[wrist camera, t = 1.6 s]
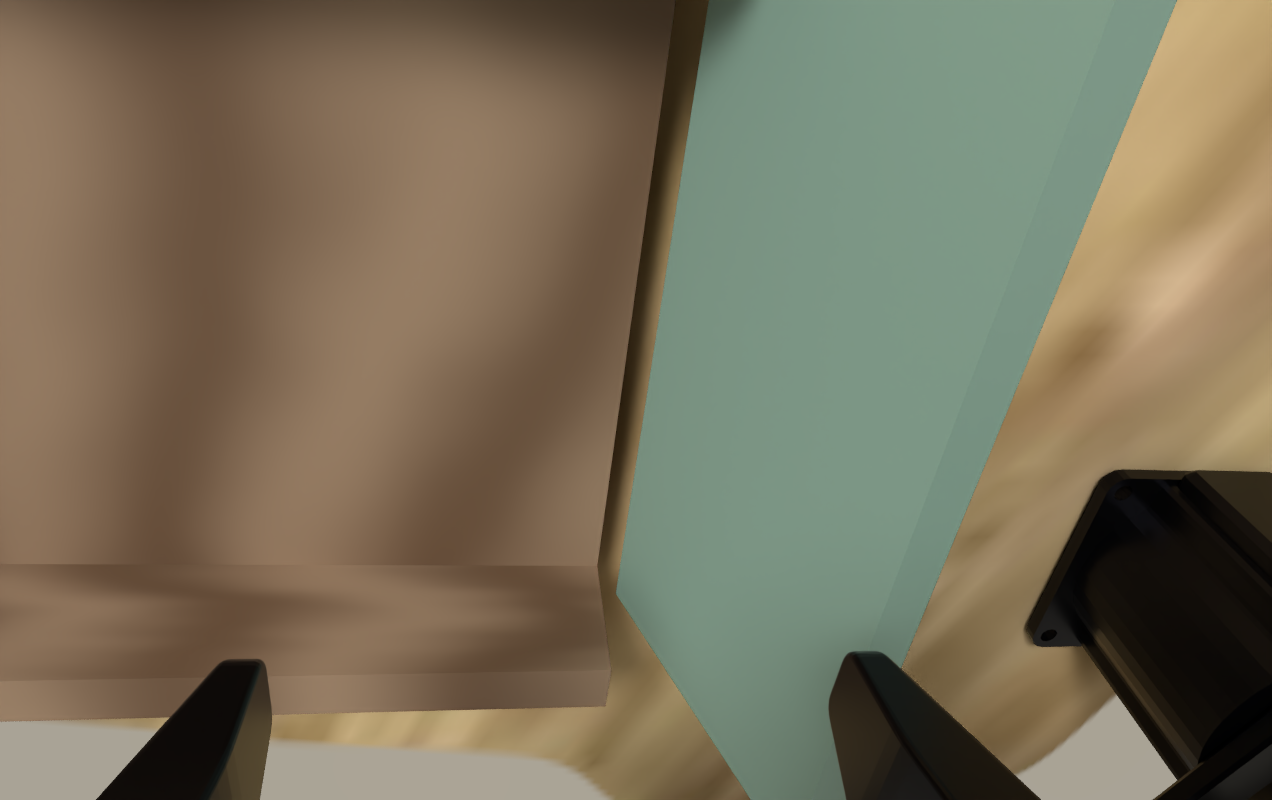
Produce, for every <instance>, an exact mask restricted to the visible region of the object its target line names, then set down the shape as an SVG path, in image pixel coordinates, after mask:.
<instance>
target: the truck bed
mask: <svg viewBox="0 0 1272 800" xmlns="http://www.w3.org/2000/svg"><path fill="white" fill-rule="evenodd" d="M675 3H676V0H0V722H2V721H41V720H81V719H121V718H160V717H171V716H172V715H173V713H174V712H175V711H176V710H177V709H178V708H179V707H180V706H181V705H182V703H183V702H184V701H185V700H186V699H187V698H188V697H189V696H190V694H191V693H192V692H193V691H194V690H195V689H196V688H197V687H198V686H199V684H200V683H201V682H202V681H203V680H204V679H205V678H206V677H207V676H208V674H209V673H210V672H211V671H212V670H213V669H214V668H215V667H216V666H217V665H218V664H219V663H220V662H222V661H224V660H227V659H261V660H262V661H264V663H265V665H266V669H267V676H268V683H269V691H270V699H271V707H272V715H279V714H318V713H358V712H398V711H437V710H477V709H516V708H556V707H595V706H606V700H607V694H608V688H609V682H610V676H611V663H610V656H609V649H608V641H607V634H606V627H605V619H604V612H603V605H602V597H601V590H600V583H599V575H598V568H597V564H598V557H599V549H600V542H601V535H602V528H603V521H604V513H605V506H606V499H607V492H608V485H609V478H610V470H611V463H612V456H613V449H614V442H615V434H616V427H617V420H618V413H619V406H620V398H621V391H622V384H623V377H624V370H625V362H626V355H627V348H628V341H629V334H630V326H631V319H632V312H633V305H634V298H635V290H636V283H637V276H638V269H639V262H640V254H641V247H642V240H643V233H644V226H645V218H646V211H647V204H648V197H649V190H650V182H651V175H652V168H653V161H654V154H655V147H656V139H657V132H658V125H659V118H660V111H661V103H662V96H663V89H664V82H665V75H666V67H667V60H668V53H669V46H670V39H671V31H672V24H673V17H674V10H675Z"/></svg>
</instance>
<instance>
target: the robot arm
mask: <svg viewBox="0 0 1272 800" xmlns="http://www.w3.org/2000/svg"><path fill="white" fill-rule="evenodd" d="M1026 631H1027V634H1028V635H1029V637H1030V638H1031V640H1032V641H1033V643H1034V644H1035V645H1037V646H1041V647H1062V646H1083V648H1084V649H1085V651H1086V652H1087V653H1088V655H1089V656H1090V658H1091V659H1092V660H1093V662H1094V663H1095V665H1096V666H1097V668H1098V669H1099V670H1100V672H1101V673H1102V675H1103V676H1104V677H1105V679H1106V680H1107V682H1108V683H1109V684H1110V686H1111V687H1112V689H1113V690H1114V692H1115V693H1116V694H1117V696H1118V697H1119V699H1120V700H1121V701H1122V703H1123V704H1124V705H1125V707H1126V708H1127V710H1128V711H1129V713H1130V714H1131V716H1132V717H1133V718H1134V720H1135V721H1136V723H1137V724H1138V725H1139V727H1140V728H1141V730H1142V731H1143V732H1144V734H1145V735H1146V737H1147V738H1148V740H1149V741H1150V742H1151V744H1152V745H1153V746H1154V748H1155V749H1156V751H1157V752H1158V753H1159V755H1160V756H1161V758H1162V759H1163V761H1164V762H1165V764H1166V765H1167V766H1168V768H1169V769H1170V771H1171V772H1172V773H1173V775H1174V776H1175V778H1176V779H1177V780H1178V781H1176V782H1175V783H1174V784H1172V785H1171V786H1170V787H1169V788H1167V789H1166V790H1165V791H1163V792H1162V793H1161V794H1160V795H1158V796H1157V797H1156V798H1155V799H1153V800H1272V473H1270V472H1242V471H1202V470H1197V471H1161V470H1116V471H1113V472H1111V473H1109V474H1108V475H1106V476H1105V477H1104V478H1103V479H1102V480H1101V481H1100V483H1099V484H1098V486H1097V488H1096V490H1095V492H1094V494H1093V496H1092V498H1091V500H1090V502H1089V504H1088V506H1087V508H1086V510H1085V512H1084V514H1083V516H1082V518H1081V520H1080V522H1079V524H1078V526H1077V528H1076V530H1075V532H1074V534H1073V536H1072V538H1071V540H1070V542H1069V544H1068V546H1067V548H1066V550H1065V552H1064V554H1063V556H1062V558H1061V560H1060V562H1059V564H1058V566H1057V568H1056V570H1055V572H1054V574H1053V576H1052V578H1051V580H1050V582H1049V584H1048V586H1047V588H1046V590H1045V592H1044V594H1043V596H1042V597H1041V599H1040V601H1039V603H1038V605H1037V607H1036V609H1035V611H1034V613H1033V615H1032V617H1031V619H1030V621H1029V623H1028V625H1027V629H1026ZM828 711H829V719H830V724H831V729H832V734H833V739H834V744H835V748H836V753H837V758H838V763H839V768H840V773H841V777H842V782H843V787H844V792H845V797H846V800H1041V799H1040V798H1039V797H1038V796H1036V795H1035V794H1034V793H1033V792H1032V791H1031V790H1030V789H1029V788H1028V787H1027V786H1026V785H1024V783H1023V782H1021V780H1019V779H1018V778H1017V777H1016V776H1015V775H1014V774H1013V773H1012V772H1011V771H1010V770H1009V769H1008V768H1007V767H1006V766H1005V765H1003V764H1002V763H1001V762H1000V761H999V760H998V759H997V758H996V757H995V756H994V755H993V754H992V753H991V752H990V751H988V750H987V749H986V748H985V747H984V746H983V745H982V744H981V743H980V742H979V741H978V740H977V739H976V738H975V737H974V736H972V735H971V734H970V733H969V732H968V731H967V730H966V729H965V728H964V727H963V726H962V725H961V724H960V723H959V722H957V721H956V720H955V719H954V718H953V717H952V716H951V715H950V714H949V713H948V712H947V711H946V710H945V709H944V708H943V707H941V706H940V705H939V704H938V703H937V702H936V701H935V700H934V699H933V698H932V697H931V696H930V695H929V694H928V693H926V692H925V691H924V690H923V689H922V688H921V687H920V686H919V685H918V684H917V683H916V682H915V681H914V680H913V679H912V678H910V677H909V676H908V675H907V674H906V673H905V672H904V671H903V670H902V669H901V668H900V667H899V666H898V665H897V664H895V663H894V662H893V661H892V660H891V659H890V658H889V657H888V656H887V655H885V654H884V653H882V652H879V651H851V652H849V653H848V654H846V655H845V657H844V659H843V661H842V664H841V666H840V669H839V672H838V675H837V677H836V680H835V683H834V686H833V688H832V691H831V694H830V697H829V704H828ZM271 725H272V707H271V699H270V691H269V683H268V676H267V669H266V665H265V663H264V661H262V660H261V659H227V660H224V661H222V662H220V663H219V664H218V665H217V666H216V667H215V668H214V669H213V670H212V671H211V672H210V673H209V674H208V676H207V677H206V678H205V679H204V680H203V681H202V682H201V683H200V684H199V686H198V687H197V688H196V689H195V690H194V691H193V692H192V693H191V694H190V696H189V697H188V698H187V699H186V700H185V701H184V702H183V703H182V705H181V706H180V707H179V708H178V709H177V710H176V711H175V712H174V713H173V715H172V716H171V717H170V718H169V719H168V720H167V721H166V722H165V723H164V725H163V726H162V727H161V728H160V729H159V730H158V731H157V732H156V733H155V735H154V736H153V737H152V738H151V739H150V740H149V741H148V742H147V744H146V745H145V746H144V747H143V748H142V749H141V750H140V751H139V752H138V754H137V755H136V756H135V757H134V758H133V759H132V760H131V761H130V763H129V764H128V765H127V766H126V767H125V768H124V769H123V770H122V771H121V773H120V774H119V775H118V776H117V777H116V778H115V779H114V780H113V782H112V783H111V784H110V785H109V786H108V787H107V788H106V789H105V790H104V791H103V793H102V794H101V795H100V796H99V797H98V798H97V799H96V800H260V795H261V788H262V783H263V776H264V770H265V764H266V758H267V752H268V746H269V740H270V734H271Z"/></svg>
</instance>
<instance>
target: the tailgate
mask: <svg viewBox="0 0 1272 800" xmlns="http://www.w3.org/2000/svg"><path fill="white" fill-rule="evenodd" d="M1176 2H1177V0H709V3H708V10H707V16H706V22H705V29H704V35H703V41H702V48H701V54H700V61H699V67H698V73H697V80H696V86H695V92H694V99H693V105H692V111H691V118H690V124H689V131H688V137H687V143H686V150H685V156H684V162H683V169H682V175H681V181H680V188H679V194H678V201H677V207H676V213H675V220H674V226H673V232H672V239H671V245H670V251H669V258H668V264H667V271H666V277H665V283H664V290H663V296H662V302H661V309H660V315H659V322H658V328H657V334H656V341H655V347H654V353H653V360H652V366H651V372H650V379H649V385H648V392H647V398H646V404H645V411H644V417H643V423H642V430H641V436H640V442H639V449H638V455H637V462H636V468H635V474H634V481H633V487H632V493H631V500H630V506H629V512H628V519H627V525H626V532H625V538H624V544H623V551H622V557H621V563H620V570H619V576H618V582H617V589H616V595H617V596H618V598H619V599H620V601H621V602H622V604H623V605H624V607H625V608H626V610H627V611H628V613H629V614H630V616H631V618H632V619H633V621H634V622H635V624H636V625H637V627H638V628H639V630H640V631H641V633H642V634H643V636H644V637H645V639H646V640H647V642H648V644H649V645H650V647H651V648H652V650H653V651H654V653H655V654H656V656H657V657H658V659H659V660H660V662H661V663H662V665H663V666H664V668H665V669H666V671H667V673H668V674H669V676H670V677H671V679H672V680H673V682H674V683H675V685H676V686H677V688H678V689H679V691H680V692H681V694H682V695H683V697H684V698H685V700H686V702H687V703H688V705H689V706H690V708H691V709H692V711H693V712H694V714H695V715H696V717H697V718H698V720H699V721H700V723H701V724H702V726H703V727H704V729H705V731H706V732H707V734H708V735H709V737H710V738H711V740H712V741H713V743H714V744H715V746H716V747H717V749H718V750H719V752H720V753H721V755H722V756H723V758H724V760H725V761H726V763H727V764H728V766H729V767H730V769H731V770H732V772H733V773H734V775H735V776H736V778H737V779H738V781H739V782H740V784H741V785H742V787H743V789H744V790H745V792H746V793H747V795H748V796H749V798H750V799H751V800H846V797H845V792H844V787H843V782H842V777H841V773H840V768H839V763H838V758H837V753H836V748H835V744H834V739H833V734H832V729H831V724H830V719H829V711H828V704H829V697H830V694H831V691H832V688H833V686H834V683H835V680H836V677H837V675H838V672H839V669H840V666H841V664H842V661H843V659H844V657H845V655H846V654H848V653H849V652H851V651H879V652H882V653H884V654H885V655H887V656H888V657H889V658H890V659H891V660H892V661H893V662H894V663H895V664H897V665H898V666H899V667H900V668H901V667H902V665H903V662H904V660H905V657H906V655H907V652H908V650H909V648H910V645H911V643H912V640H913V638H914V636H915V633H916V631H917V628H918V626H919V623H920V621H921V619H922V616H923V614H924V611H925V609H926V607H927V604H928V602H929V599H930V597H931V594H932V592H933V590H934V587H935V585H936V582H937V580H938V577H939V575H940V573H941V570H942V568H943V565H944V563H945V561H946V558H947V556H948V553H949V551H950V548H951V546H952V544H953V541H954V539H955V536H956V534H957V531H958V529H959V527H960V524H961V522H962V519H963V517H964V515H965V512H966V510H967V507H968V505H969V502H970V500H971V498H972V495H973V493H974V490H975V488H976V486H977V483H978V481H979V478H980V476H981V473H982V471H983V469H984V466H985V464H986V461H987V459H988V456H989V454H990V452H991V449H992V447H993V444H994V442H995V440H996V437H997V435H998V432H999V430H1000V427H1001V425H1002V423H1003V420H1004V418H1005V415H1006V413H1007V411H1008V408H1009V406H1010V403H1011V401H1012V398H1013V396H1014V394H1015V391H1016V389H1017V386H1018V384H1019V381H1020V379H1021V377H1022V374H1023V372H1024V369H1025V367H1026V365H1027V362H1028V360H1029V357H1030V355H1031V352H1032V350H1033V348H1034V345H1035V343H1036V340H1037V338H1038V335H1039V333H1040V331H1041V328H1042V326H1043V323H1044V321H1045V319H1046V316H1047V314H1048V311H1049V309H1050V306H1051V304H1052V302H1053V299H1054V297H1055V294H1056V292H1057V290H1058V287H1059V285H1060V282H1061V280H1062V277H1063V275H1064V273H1065V270H1066V268H1067V265H1068V263H1069V260H1070V258H1071V256H1072V253H1073V251H1074V248H1075V246H1076V244H1077V241H1078V239H1079V236H1080V234H1081V231H1082V229H1083V227H1084V224H1085V222H1086V219H1087V217H1088V214H1089V212H1090V210H1091V207H1092V205H1093V202H1094V200H1095V198H1096V195H1097V193H1098V190H1099V188H1100V185H1101V183H1102V181H1103V178H1104V176H1105V173H1106V171H1107V169H1108V166H1109V164H1110V161H1111V159H1112V156H1113V154H1114V152H1115V149H1116V147H1117V144H1118V142H1119V139H1120V137H1121V135H1122V132H1123V130H1124V127H1125V125H1126V123H1127V120H1128V118H1129V115H1130V113H1131V110H1132V108H1133V106H1134V103H1135V101H1136V98H1137V96H1138V94H1139V91H1140V89H1141V86H1142V84H1143V81H1144V79H1145V77H1146V74H1147V72H1148V69H1149V67H1150V64H1151V62H1152V60H1153V57H1154V55H1155V52H1156V50H1157V48H1158V45H1159V43H1160V40H1161V38H1162V35H1163V33H1164V31H1165V28H1166V26H1167V23H1168V21H1169V18H1170V16H1171V14H1172V11H1173V9H1174V6H1175V4H1176Z"/></svg>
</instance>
